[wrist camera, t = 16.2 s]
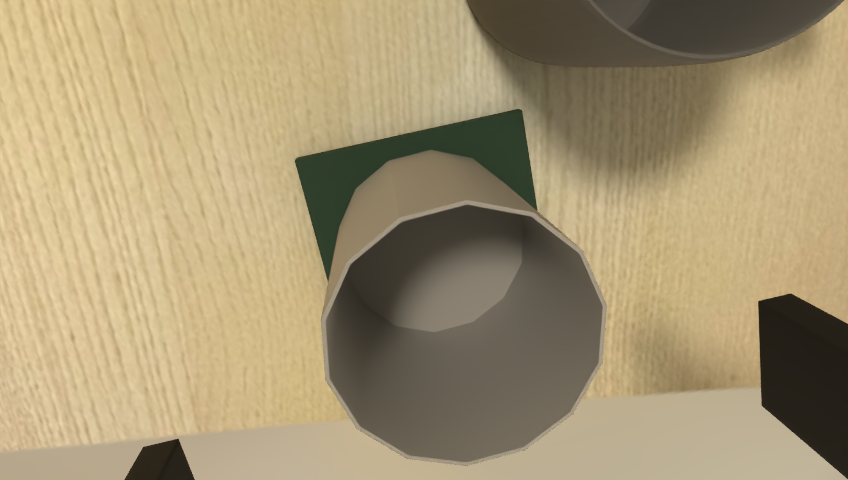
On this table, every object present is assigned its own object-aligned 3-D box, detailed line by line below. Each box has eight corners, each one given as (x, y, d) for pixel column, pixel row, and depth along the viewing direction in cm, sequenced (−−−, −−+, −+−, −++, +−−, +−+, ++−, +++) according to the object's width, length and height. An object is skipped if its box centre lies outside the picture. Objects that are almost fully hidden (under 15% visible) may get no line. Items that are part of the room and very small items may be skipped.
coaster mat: (351, 358, 28) (350, 364, 28) (296, 157, 25) (294, 160, 25) (550, 312, 29) (554, 317, 28) (518, 109, 26) (522, 109, 25)
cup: (518, 323, 28) (595, 456, 18) (345, 333, 27) (332, 475, 18) (524, 146, 26) (615, 194, 16) (334, 152, 25) (312, 205, 15)
